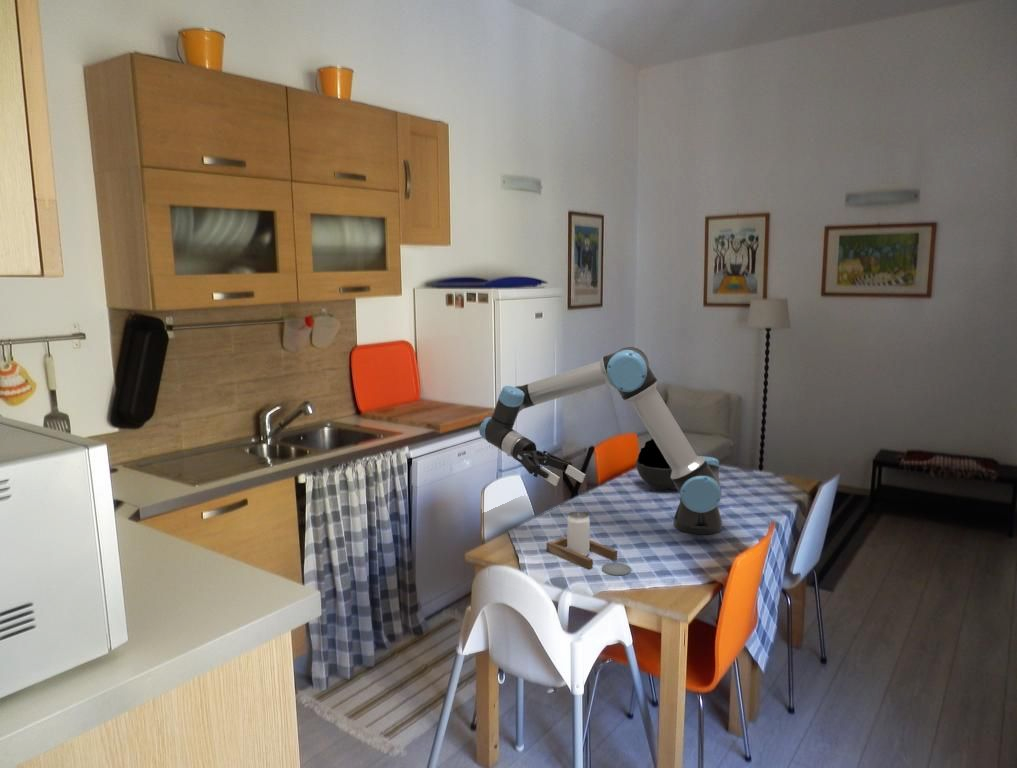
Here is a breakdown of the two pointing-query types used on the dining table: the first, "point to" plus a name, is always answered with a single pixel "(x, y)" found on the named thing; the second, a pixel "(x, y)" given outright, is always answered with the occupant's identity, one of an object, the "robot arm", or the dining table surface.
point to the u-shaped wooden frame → (560, 550)
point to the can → (578, 532)
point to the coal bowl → (654, 466)
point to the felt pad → (616, 569)
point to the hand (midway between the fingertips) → (570, 480)
